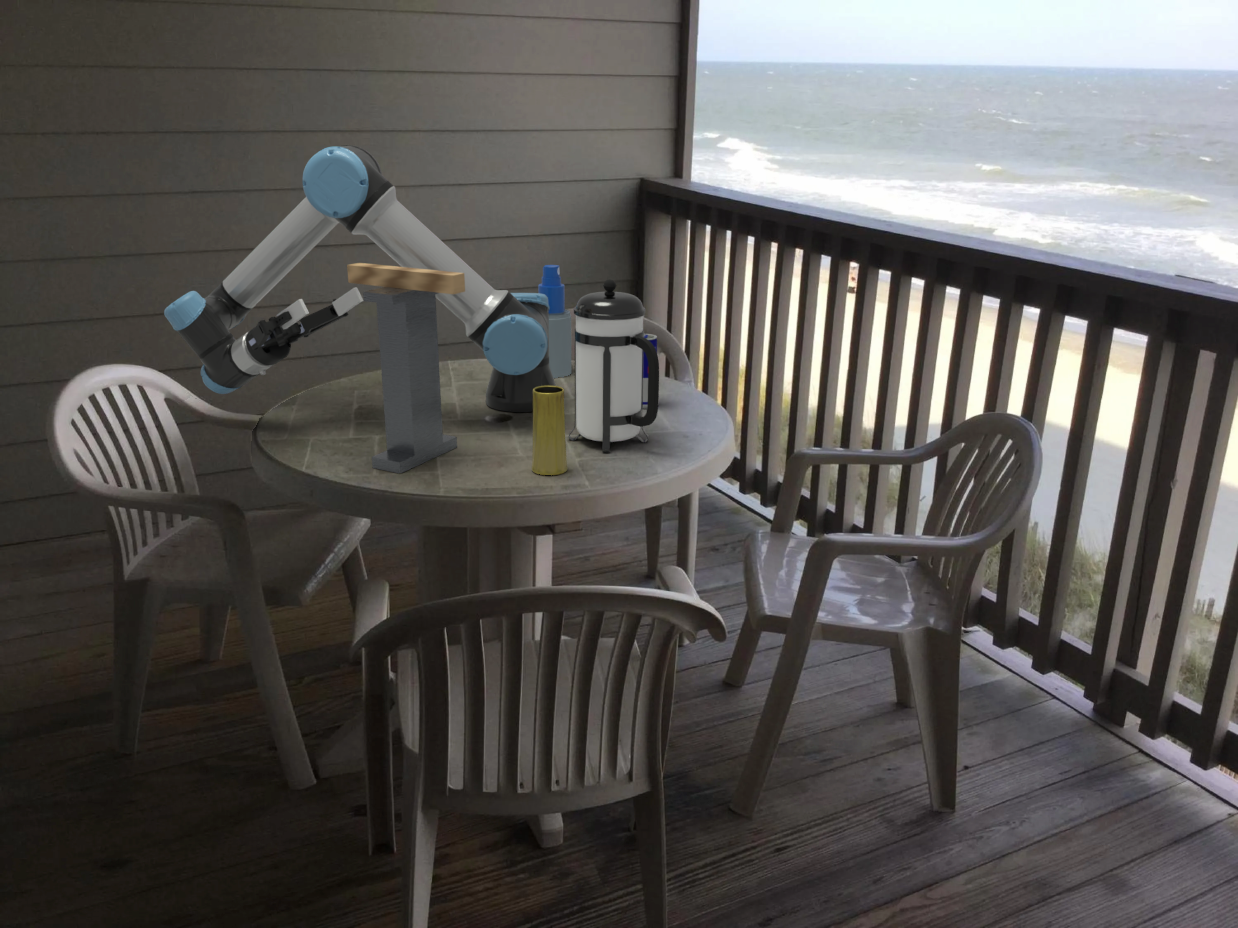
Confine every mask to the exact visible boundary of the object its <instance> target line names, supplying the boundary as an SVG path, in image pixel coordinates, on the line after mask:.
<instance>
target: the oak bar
mask: <svg viewBox="0 0 1238 928" xmlns="http://www.w3.org/2000/svg"><path fill="white" fill-rule="evenodd" d="M346 267H347V280H348V281H347V282H348V283H349V284H356V285H364V286H365V285H366V286H374V287H381V288H382V287H392V288H401V289H410V290H419V291H428V292H437V293H446V294H458V293H462V292H465V277H464V273H459V272H448V271H438V270H428V269H418V268H407V267H401V266H397V265H396V266H395V265H385V264H375V263H365V262H356V263H349V264H347V265H346Z"/></svg>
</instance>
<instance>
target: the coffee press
mask: <svg viewBox="0 0 1238 928" xmlns="http://www.w3.org/2000/svg"><path fill="white" fill-rule="evenodd" d="M602 286H603V290H604V291H598V292H597V291H596V292H590V293H588V294H585V295H583V296H582V297H580V298H579V299H578V301H577V303H576V306H574V307H573V314H574V316H575V328H574V427H573V428H572V429H571V431H570V432H569V433H568V439H569V440H570V441H572V442H575V441H576V440H577V439H578V438H580V437H583V438H585V439H587V440H592V441H596V442H602V448H601V449H602V450H601V451H602V453H606V454H608V453H609V454H610V452H611V443H613V442H614V443H615V442H622V441H623V442H624V441H627V440H631V439H633V438H636V439H637V440H639V441H640V442H641V443H642V444H646V443H647V442H649V439H650V438H649V434H648V433H647V432H646V430H645V428H644V427H648V426H650V425H652V424H653V423H654V422H655V420H656V419H657V416H658V412H659V398H660V397H659V396H660V394H659V393H660V392H659V391H660V389H659V388H660V363H659V356H658V351H657V352H656V350H655V347H654V346H653V344H652V343H651V342H650V341H649V340H648V339H646V338H644V334H645V329H644V317H645V316H646V308H645V306H643V305H644V304H643V302H642V301H641V299H639V297H637V296H636V295H633V294H631V293H628V292H623V291H622V292H621V291H615V290H616V288H617V283H616V281H615V280H613V279H611V278H608V279H606V280H605V281H604V283H603V285H602ZM642 351H643V364H644V352H645V354H646V356H647V360H648V406H647V409H646V411H645V412H646V413H645V414H643V413H644V411H643V410H644V409H643V367H642ZM641 403H642V409H641ZM643 415H644V416H643ZM575 428H576V431H577V432H578V435H577V436H575V437H572V436H571V434H572V433H573V432H574V431H575ZM641 430H642V432H643V433H644V435H645V436H646V439H642V437H641V436H639V435H638V434H639V433H640V432H641Z"/></svg>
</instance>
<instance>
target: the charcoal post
mask: <svg viewBox="0 0 1238 928" xmlns="http://www.w3.org/2000/svg"><path fill="white" fill-rule="evenodd" d="M362 293H363V294H362V297H363V300H364V301H363V302H369V303H370V302H371V303H376V313H377V315H376V317H377V328H378V343H379V356H380V357H379V358H380V370H381V384H382V395H383V396H382V398H383V414H384V426H385V438H386V439H385V441H386V450H384V451H381V452H380V453H377V454H375V455H373V456H371V464H372V469H375V470H376V469H377V470H382V471H385V472H386V471H387V472H390V473H396V474H399V473H401V474H402V473H405V472H406V471H409V470H411V468H412V469H414V468H415V467H418V466H421V465H422V464H425V463H427V462H428V461H431V460H433V459H435V458H437V457H439V456H442V455H444V454H445V453H448V452H450V451H452V450H454V449H456V448H457V447H458V442H457V439H458V438H457V436H454V435H449V434H443V432H444V431H443V418H442V417H443V414H442V396H441V377H440V358H439V354H440V353H439V338H438V337H439V336H438V335H439V334H438V322H437V321H438V319H437V318H438V317H437V303H436V302H437V298H436V296H435V294H438V293H437V292H428V291H419V290H410V289H401V288H392V287H382V286H381V287H378V288H373V289H371V290H365V291H363V292H362Z"/></svg>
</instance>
